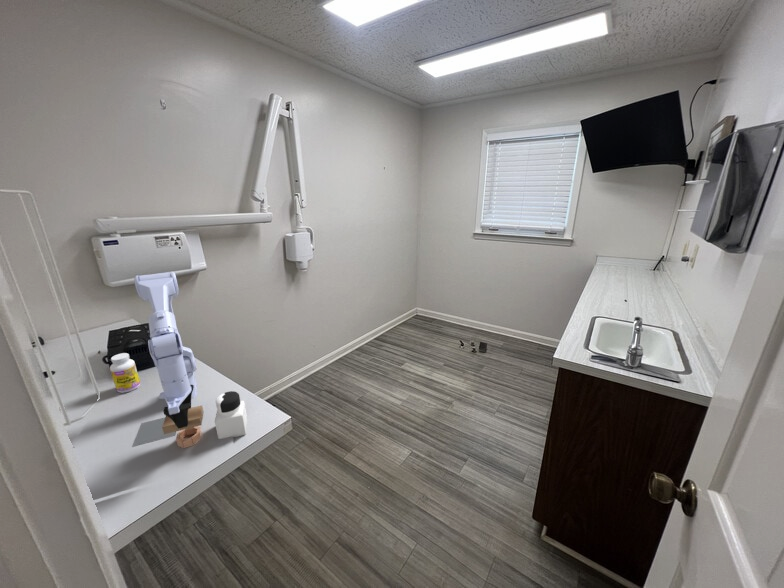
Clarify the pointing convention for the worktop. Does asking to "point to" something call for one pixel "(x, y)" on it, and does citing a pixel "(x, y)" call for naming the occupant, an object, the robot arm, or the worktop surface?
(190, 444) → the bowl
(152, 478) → the worktop surface
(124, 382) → the supplement bottle
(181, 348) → the robot arm
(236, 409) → the medicine bottle
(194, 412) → the tan cardboard box
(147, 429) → the mat
